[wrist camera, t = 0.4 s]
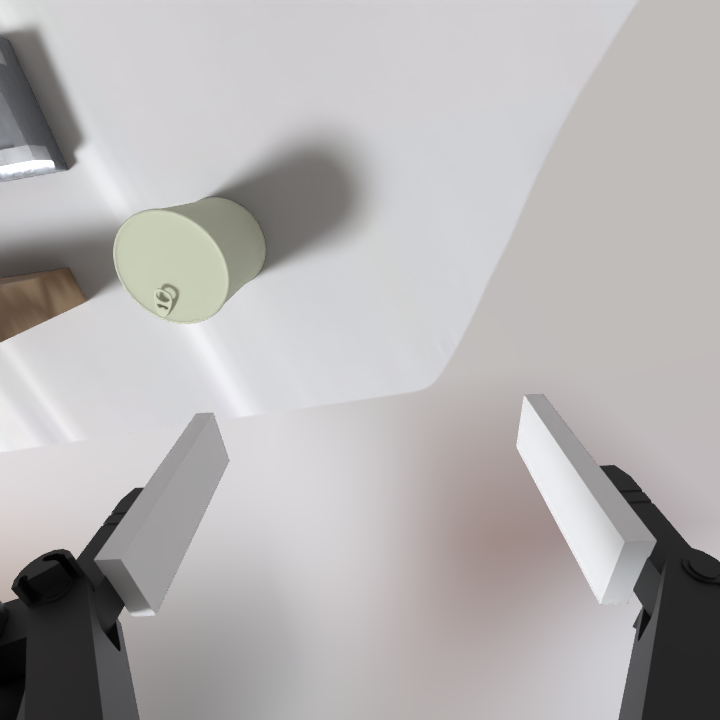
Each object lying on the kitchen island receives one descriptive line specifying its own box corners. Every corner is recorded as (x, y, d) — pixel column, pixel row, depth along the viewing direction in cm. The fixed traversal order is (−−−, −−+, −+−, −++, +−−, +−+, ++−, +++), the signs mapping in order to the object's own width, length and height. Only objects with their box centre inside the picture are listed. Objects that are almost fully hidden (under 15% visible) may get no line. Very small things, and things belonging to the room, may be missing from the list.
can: (172, 265, 40) (101, 300, 30) (189, 180, 36) (115, 185, 26) (252, 298, 42) (213, 343, 31) (277, 221, 38) (242, 242, 27)
